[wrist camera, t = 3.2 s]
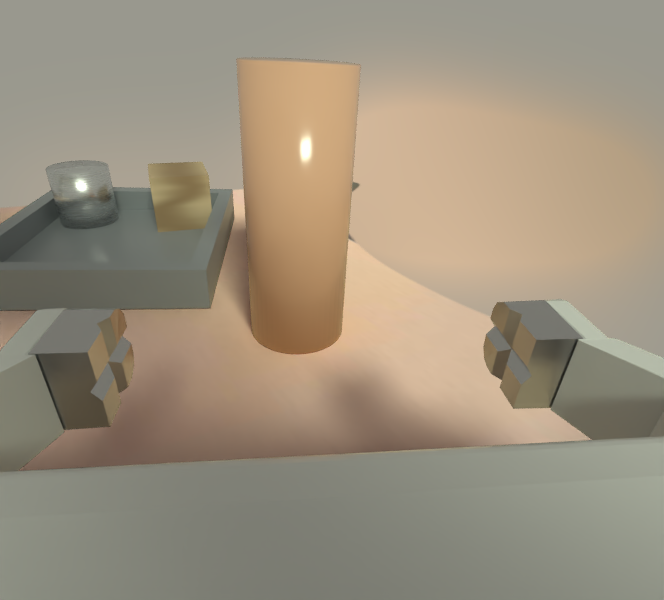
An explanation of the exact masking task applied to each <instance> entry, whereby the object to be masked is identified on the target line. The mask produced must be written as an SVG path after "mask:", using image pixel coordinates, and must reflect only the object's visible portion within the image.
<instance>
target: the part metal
mask: <svg viewBox="0 0 664 600" xmlns="http://www.w3.org/2000/svg"><path fill="white" fill-rule="evenodd" d="M46 172H47V176H48V180H49V183H50V187H51V190H52V194H53V197H54V201H55V204H56V208H57V211H58V215H59V218H60V222H61V225H62V226H64V227H66V228H70V229H94V228H100V227H104V226H107V225H110V224H113V223H114V222H116V221H117V220H118V219H119V215H118V210H117V206H116V201H115V196H114V191H113V187H112V182H111V178H110V173H109V168H108V165H107V164H106V163H104V162H99V161H69V162H63V163H57V164H53V165H51V166H48V167H47V168H46Z"/></svg>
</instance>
